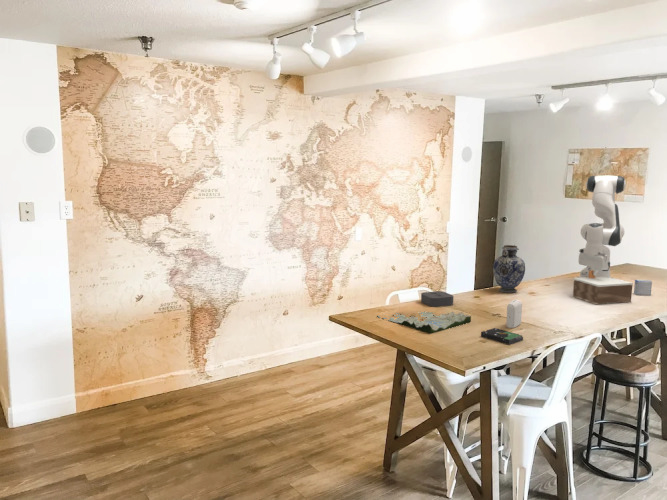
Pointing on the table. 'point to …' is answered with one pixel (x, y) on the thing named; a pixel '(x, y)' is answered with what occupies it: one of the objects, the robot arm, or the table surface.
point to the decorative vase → (509, 269)
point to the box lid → (602, 280)
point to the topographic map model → (438, 321)
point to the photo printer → (514, 314)
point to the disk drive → (502, 336)
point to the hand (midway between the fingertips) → (592, 274)
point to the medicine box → (642, 287)
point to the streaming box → (437, 299)
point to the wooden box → (602, 293)
